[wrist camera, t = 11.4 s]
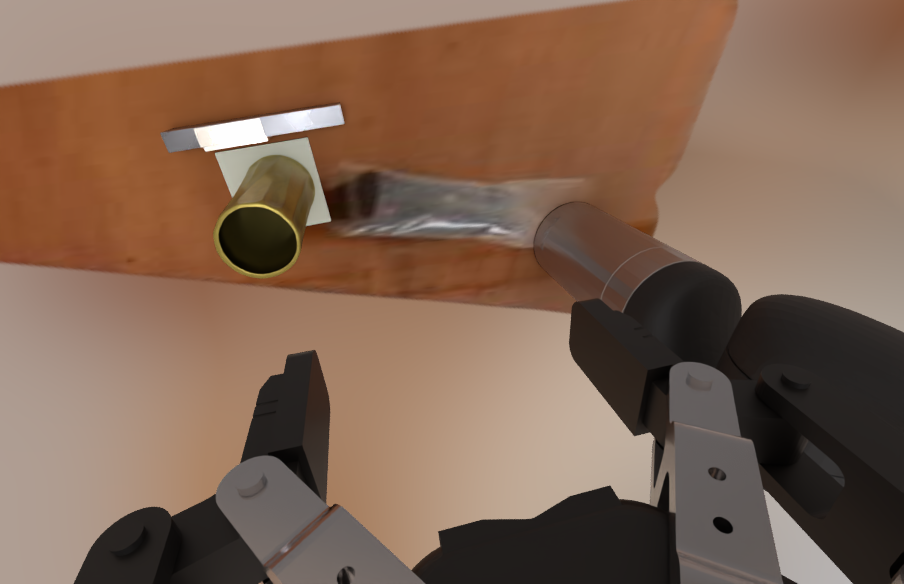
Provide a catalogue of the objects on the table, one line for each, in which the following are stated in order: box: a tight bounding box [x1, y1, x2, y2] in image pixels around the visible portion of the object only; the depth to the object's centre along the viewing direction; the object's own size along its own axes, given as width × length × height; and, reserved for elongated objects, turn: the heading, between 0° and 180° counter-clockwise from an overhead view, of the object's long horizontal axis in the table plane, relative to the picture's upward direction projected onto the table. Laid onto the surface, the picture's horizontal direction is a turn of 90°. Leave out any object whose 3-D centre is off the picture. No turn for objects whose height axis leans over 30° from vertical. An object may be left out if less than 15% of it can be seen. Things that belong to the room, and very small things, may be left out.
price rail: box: [160, 102, 345, 153], centre depth 35 cm, size 14×2×3 cm, turn 97°
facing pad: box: [215, 137, 331, 226], centre depth 39 cm, size 8×8×1 cm
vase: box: [213, 155, 315, 278], centre depth 33 cm, size 6×6×14 cm
